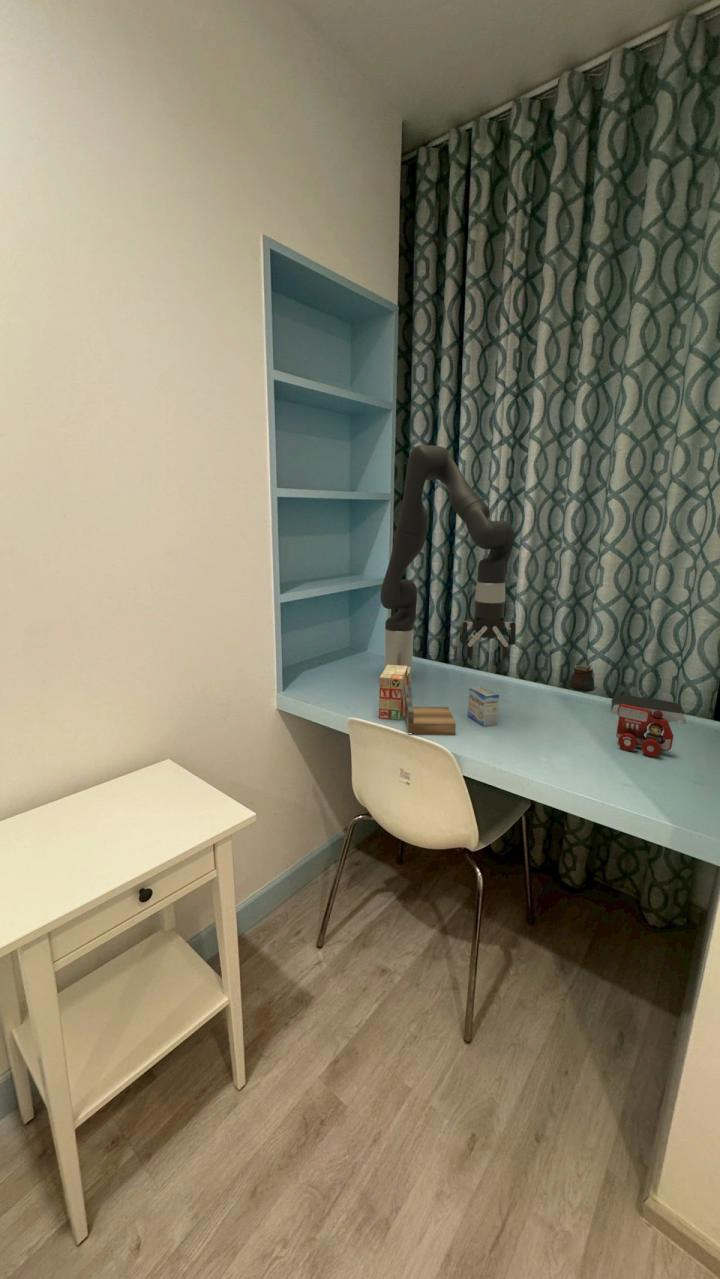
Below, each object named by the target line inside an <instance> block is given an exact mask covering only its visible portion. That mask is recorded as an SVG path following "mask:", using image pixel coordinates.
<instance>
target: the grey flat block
mask: <svg viewBox="0 0 720 1279" xmlns="http://www.w3.org/2000/svg"><path fill="white" fill-rule="evenodd" d="M621 704H625V705H630V706H635V707H640V708H645V709H649V710H650V711H651V712H652V715H653V713H654V712H655V711H657V710H659V711H661V712H662V713H663V717H662V718H665V719H666V720H667V721H668V723H672V724H673V723H674V724H679V725H681V724H682V725H685V724H686V723H685V716H684V713H683V710H682V707H681V705H680V704H679V703H678V702H677V703H676V702H672V701H668V700H663V699H657V698H650V697H643V696H633V695H622V694H621V695H620V694H616V695H614V696H613V697H612V699H611V710H610V711H611V714H614V715H615V714H616V715H618V714H617V712H618V707H619V705H621Z"/></svg>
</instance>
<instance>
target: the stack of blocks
mask: <svg viewBox="0 0 720 1279" xmlns="http://www.w3.org/2000/svg"><path fill="white" fill-rule="evenodd" d="M411 686H412V679H411V667H408V666H401V665H387V666H386V668H385V670H384V669H383V671H382V673H381V674H380V676H379V690H378V692H379V697H378V699H379V703H378V704H379V709H378V719H380V720H382V719H383V720H393V721H401V720H402V718H403V716H404V715H405V696H408V697H410V695H411V690H412V687H411ZM410 698H411V697H410Z"/></svg>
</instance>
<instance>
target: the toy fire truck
mask: <svg viewBox="0 0 720 1279" xmlns="http://www.w3.org/2000/svg"><path fill="white" fill-rule="evenodd" d="M616 715H618V723H617V728H616V734H615V736H616V738H617V743H618V746H619V747H620V748H621V749H622V750H624V751H627V752H631V751H634V750H635V749H636V747H637V746H638V744H639V745H641V746H640V749H641V751H642V753H643V754H644V755H645V756H647V757H651V758H654V757H657V756H659V755H660V753H661V751H670V750H672V747H673V742H674V734H673V732H672V729H671V727H670V726H671V725H670V724H669V723H670V722H668V721H667V720H666V719H665V718H662V717H663V713H662V712H661V711H659V710H657V711H655V712H654V713H653V715H652V712H651V711H650V710H649V709H645V708H640V707H635V706H630V705H625V704H621V705H619V707H618V712H617V714H616ZM647 731H648V732H647Z"/></svg>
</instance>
